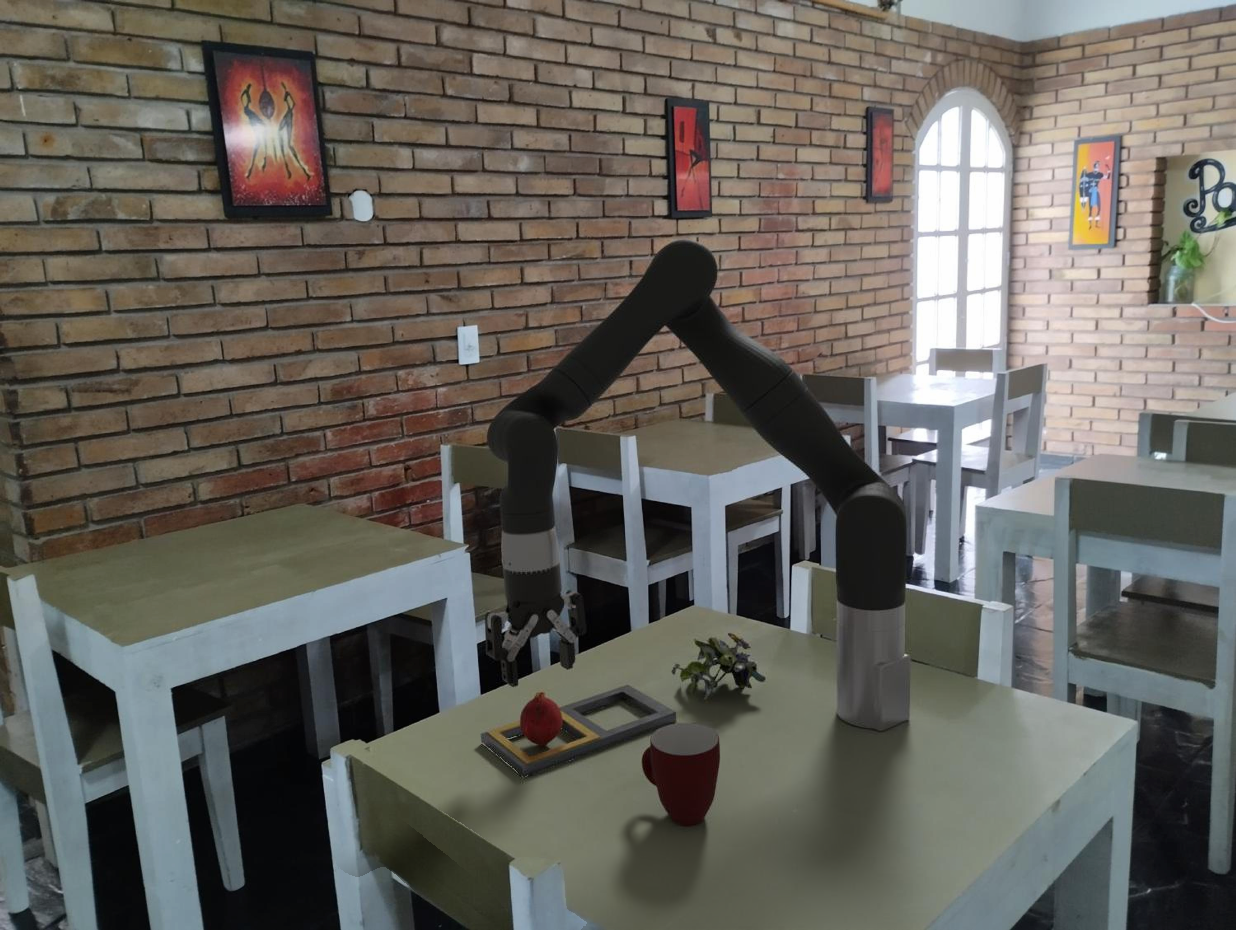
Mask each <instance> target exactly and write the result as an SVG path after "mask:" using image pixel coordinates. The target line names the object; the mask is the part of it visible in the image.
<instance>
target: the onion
mask: <svg viewBox="0 0 1236 930" xmlns="http://www.w3.org/2000/svg"><path fill="white" fill-rule="evenodd" d="M545 695H546V692H544V691H543V690H541V689H540V690H539V691H536V694H535V696H534V697H533V698H532V699H531V700H529V701H528V702H527V703H526V704H525V706H524V707H523V709H522V711H521V713H520V717H519V718H520V719H519V721H520V726H521V731H522V733H523V734H524V735H523V736H524V737H525V738H526V739H527V740H528V741H529V742H530V743H532V744H535V745H537V746H540V747H546V746H547V745H548V744H549V743H551V742H552V741H553V740H555V739H556V738H557V737H558V735H559V734H560V732H561V730H562V729H561V728H562V723H563V720H562V714H561V711H560V709H559V706H558V704H557V703H556V702H555V701H554V700H552V699H550V698H549V697H546V696H545Z"/></svg>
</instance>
